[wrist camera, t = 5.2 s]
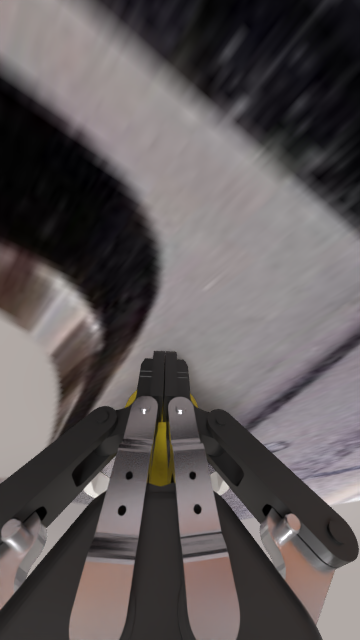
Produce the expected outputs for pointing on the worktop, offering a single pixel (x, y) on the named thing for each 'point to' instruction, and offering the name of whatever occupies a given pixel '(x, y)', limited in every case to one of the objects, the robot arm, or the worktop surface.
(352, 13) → the worktop surface
